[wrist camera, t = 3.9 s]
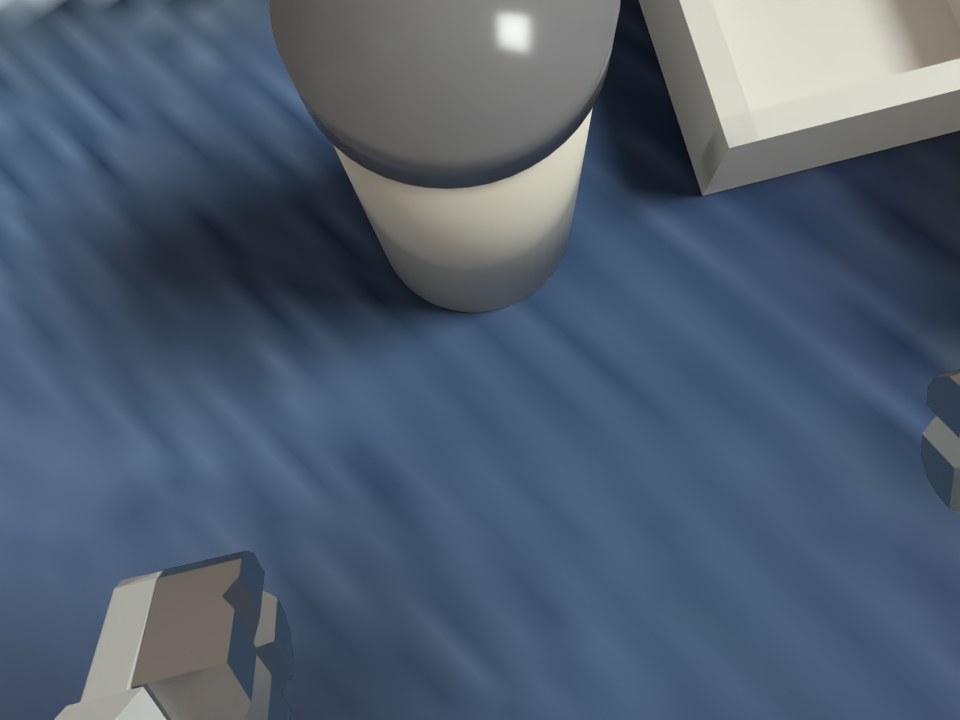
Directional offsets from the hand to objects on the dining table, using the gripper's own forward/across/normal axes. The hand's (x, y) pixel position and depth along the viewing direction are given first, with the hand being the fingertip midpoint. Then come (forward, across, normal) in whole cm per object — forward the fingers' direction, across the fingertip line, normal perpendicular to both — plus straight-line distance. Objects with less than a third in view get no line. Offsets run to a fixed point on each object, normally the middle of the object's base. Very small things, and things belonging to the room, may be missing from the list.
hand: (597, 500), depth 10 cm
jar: (+15, 0, +3) cm, 15 cm away
